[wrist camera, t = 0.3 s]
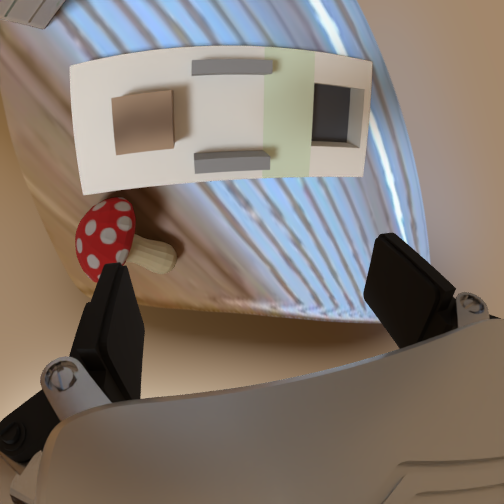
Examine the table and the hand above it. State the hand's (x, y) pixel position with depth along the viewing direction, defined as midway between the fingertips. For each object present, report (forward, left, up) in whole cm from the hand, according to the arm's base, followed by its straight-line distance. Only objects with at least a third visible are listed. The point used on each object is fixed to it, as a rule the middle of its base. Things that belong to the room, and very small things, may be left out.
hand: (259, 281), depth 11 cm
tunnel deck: (-4, +2, -30) cm, 30 cm away
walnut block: (-4, -7, -26) cm, 27 cm away
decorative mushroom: (+12, -12, -30) cm, 35 cm away
